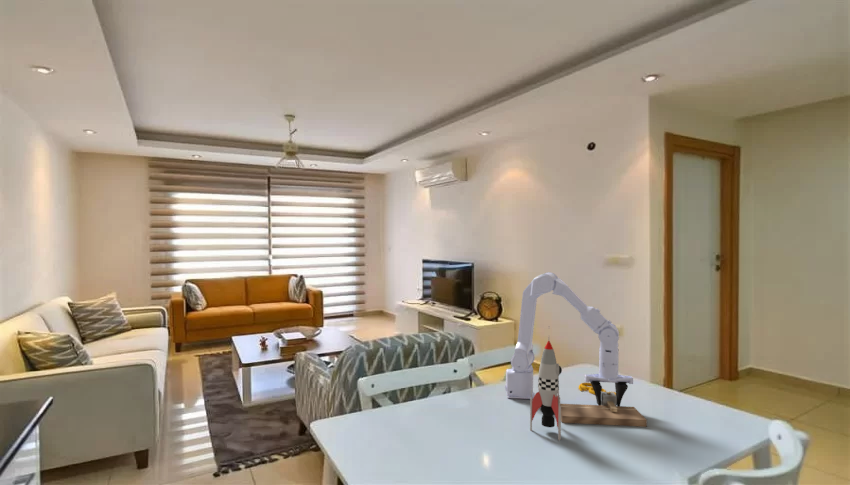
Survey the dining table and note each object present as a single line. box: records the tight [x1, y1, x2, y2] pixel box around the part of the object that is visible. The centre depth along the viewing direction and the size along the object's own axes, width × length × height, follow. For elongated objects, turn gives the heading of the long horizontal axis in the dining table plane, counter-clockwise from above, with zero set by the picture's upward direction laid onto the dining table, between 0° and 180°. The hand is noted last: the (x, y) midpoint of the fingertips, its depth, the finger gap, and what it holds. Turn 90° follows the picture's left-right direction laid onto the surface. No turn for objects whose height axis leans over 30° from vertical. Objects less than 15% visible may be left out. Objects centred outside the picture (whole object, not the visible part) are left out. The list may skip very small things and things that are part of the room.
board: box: [560, 403, 648, 428], centre depth 134 cm, size 24×10×2 cm, turn 84°
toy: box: [529, 325, 563, 441], centre depth 124 cm, size 9×8×30 cm
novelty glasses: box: [578, 382, 616, 396], centre depth 156 cm, size 17×2×10 cm
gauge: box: [601, 391, 617, 412], centre depth 137 cm, size 4×10×6 cm, turn 169°
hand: (608, 404), depth 141 cm, fingers open, 5 cm apart
